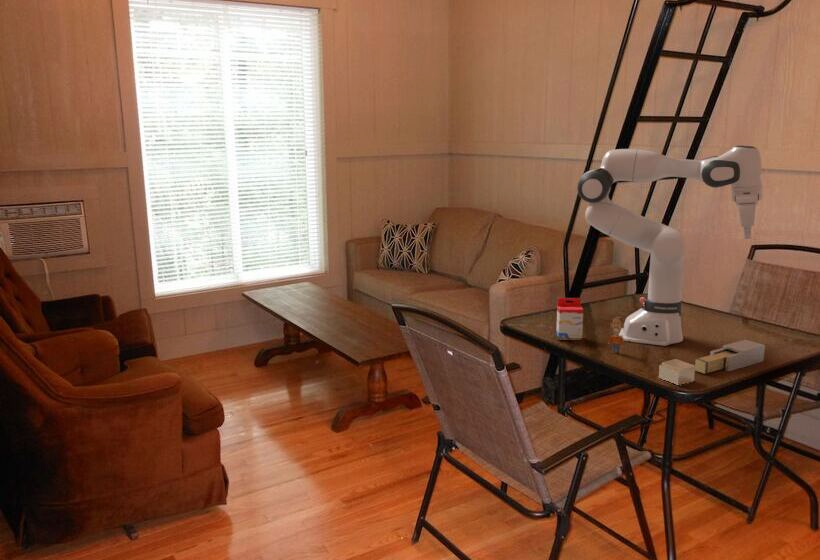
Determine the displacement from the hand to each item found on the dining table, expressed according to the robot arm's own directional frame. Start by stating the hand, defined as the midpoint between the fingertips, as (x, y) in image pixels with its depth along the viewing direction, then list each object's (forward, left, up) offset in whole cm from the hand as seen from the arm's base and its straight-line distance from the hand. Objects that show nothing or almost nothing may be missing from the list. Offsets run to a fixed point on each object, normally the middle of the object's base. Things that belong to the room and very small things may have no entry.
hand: (747, 236), depth 223 cm
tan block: (-8, -25, -37) cm, 46 cm away
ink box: (-57, -6, -38) cm, 68 cm away
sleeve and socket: (-12, -28, -38) cm, 49 cm away
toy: (-41, -18, -38) cm, 58 cm away
